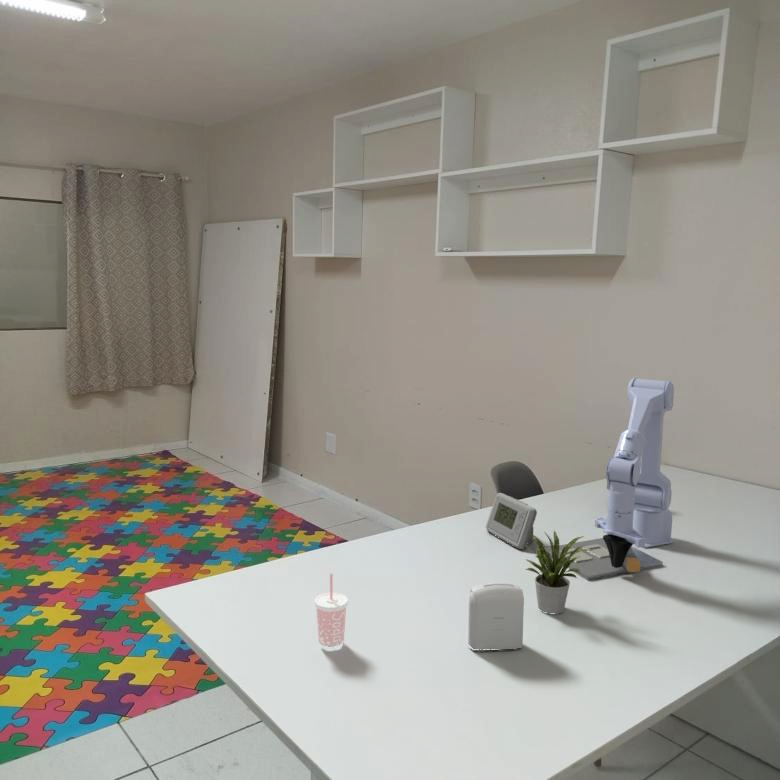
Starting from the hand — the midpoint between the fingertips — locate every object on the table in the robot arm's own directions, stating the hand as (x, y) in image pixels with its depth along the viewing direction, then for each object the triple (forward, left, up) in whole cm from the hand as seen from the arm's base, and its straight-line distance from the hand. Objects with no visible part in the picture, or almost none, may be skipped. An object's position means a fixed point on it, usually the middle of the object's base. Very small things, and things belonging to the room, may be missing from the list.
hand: (616, 566), depth 164 cm
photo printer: (+43, +17, -2) cm, 46 cm away
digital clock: (+11, -28, -2) cm, 31 cm away
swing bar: (-6, -3, 0) cm, 6 cm away
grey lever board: (-3, -9, -2) cm, 10 cm away
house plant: (+23, +9, -2) cm, 25 cm away
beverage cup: (+71, +5, -2) cm, 71 cm away
